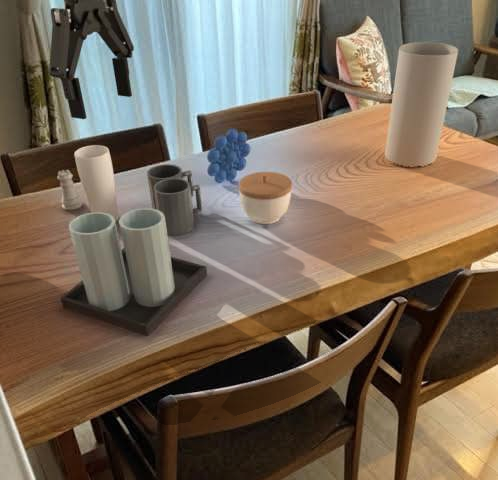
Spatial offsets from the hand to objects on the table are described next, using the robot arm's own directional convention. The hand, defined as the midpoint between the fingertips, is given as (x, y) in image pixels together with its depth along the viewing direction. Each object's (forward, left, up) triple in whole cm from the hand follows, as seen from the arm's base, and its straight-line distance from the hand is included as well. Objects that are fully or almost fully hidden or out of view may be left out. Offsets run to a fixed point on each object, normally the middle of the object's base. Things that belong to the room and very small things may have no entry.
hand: (103, 106), depth 98 cm
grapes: (+10, +27, -24) cm, 37 cm away
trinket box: (+26, +14, -24) cm, 38 cm away
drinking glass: (-4, -1, -24) cm, 24 cm away
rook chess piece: (-15, +1, -24) cm, 28 cm away
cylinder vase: (+46, +56, -24) cm, 76 cm away
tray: (+17, -19, -24) cm, 35 cm away
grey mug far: (+6, +9, -24) cm, 26 cm away
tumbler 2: (+21, -19, -24) cm, 37 cm away
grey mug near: (+12, +4, -24) cm, 27 cm away
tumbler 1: (+14, -23, -24) cm, 36 cm away
